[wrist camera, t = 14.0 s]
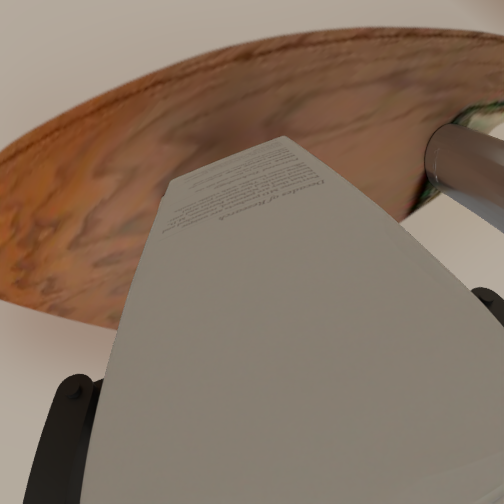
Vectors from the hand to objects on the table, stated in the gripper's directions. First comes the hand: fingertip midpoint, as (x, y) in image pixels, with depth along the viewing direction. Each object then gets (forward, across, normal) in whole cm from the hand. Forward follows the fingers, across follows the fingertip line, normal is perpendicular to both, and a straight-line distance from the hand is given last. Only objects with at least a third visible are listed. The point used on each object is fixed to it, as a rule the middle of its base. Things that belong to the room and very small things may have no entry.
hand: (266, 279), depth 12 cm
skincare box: (+5, 0, 0) cm, 5 cm away
